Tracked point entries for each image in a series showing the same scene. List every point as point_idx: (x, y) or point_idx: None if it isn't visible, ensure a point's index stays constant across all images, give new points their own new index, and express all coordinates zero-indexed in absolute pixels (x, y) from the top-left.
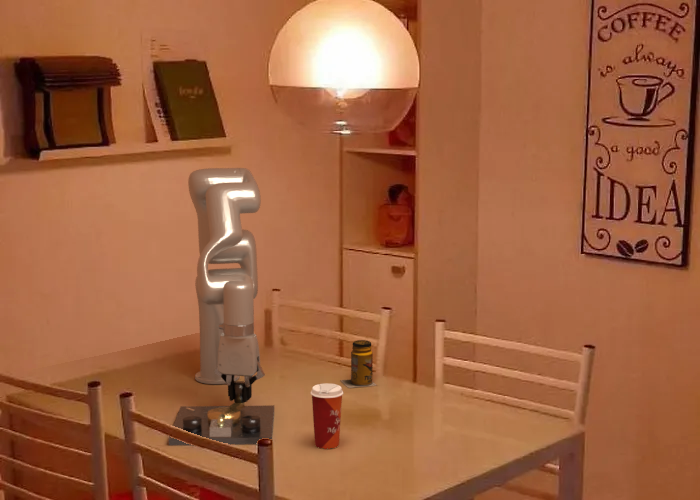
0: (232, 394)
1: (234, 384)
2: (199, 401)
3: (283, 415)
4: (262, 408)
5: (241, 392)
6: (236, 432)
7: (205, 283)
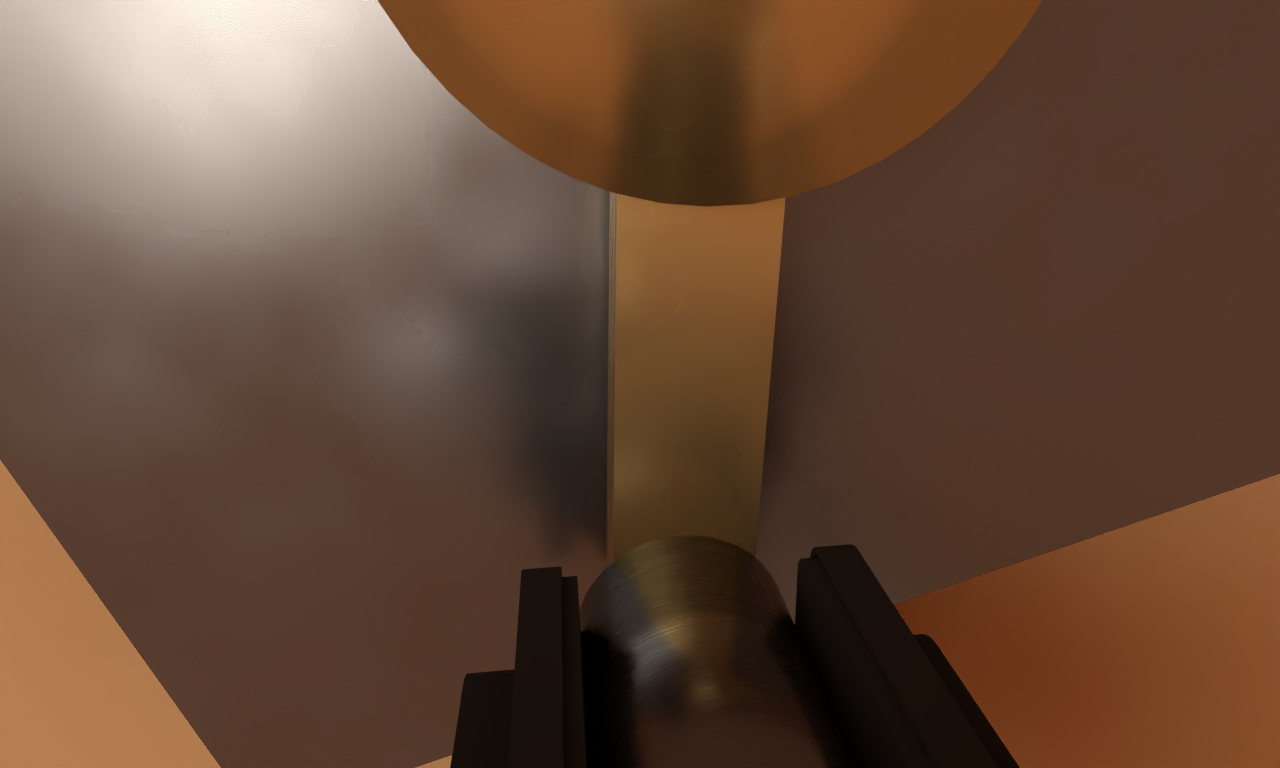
0: (837, 636)
1: None
2: (1270, 753)
3: (85, 669)
4: (351, 668)
5: (637, 705)
6: None
7: None
